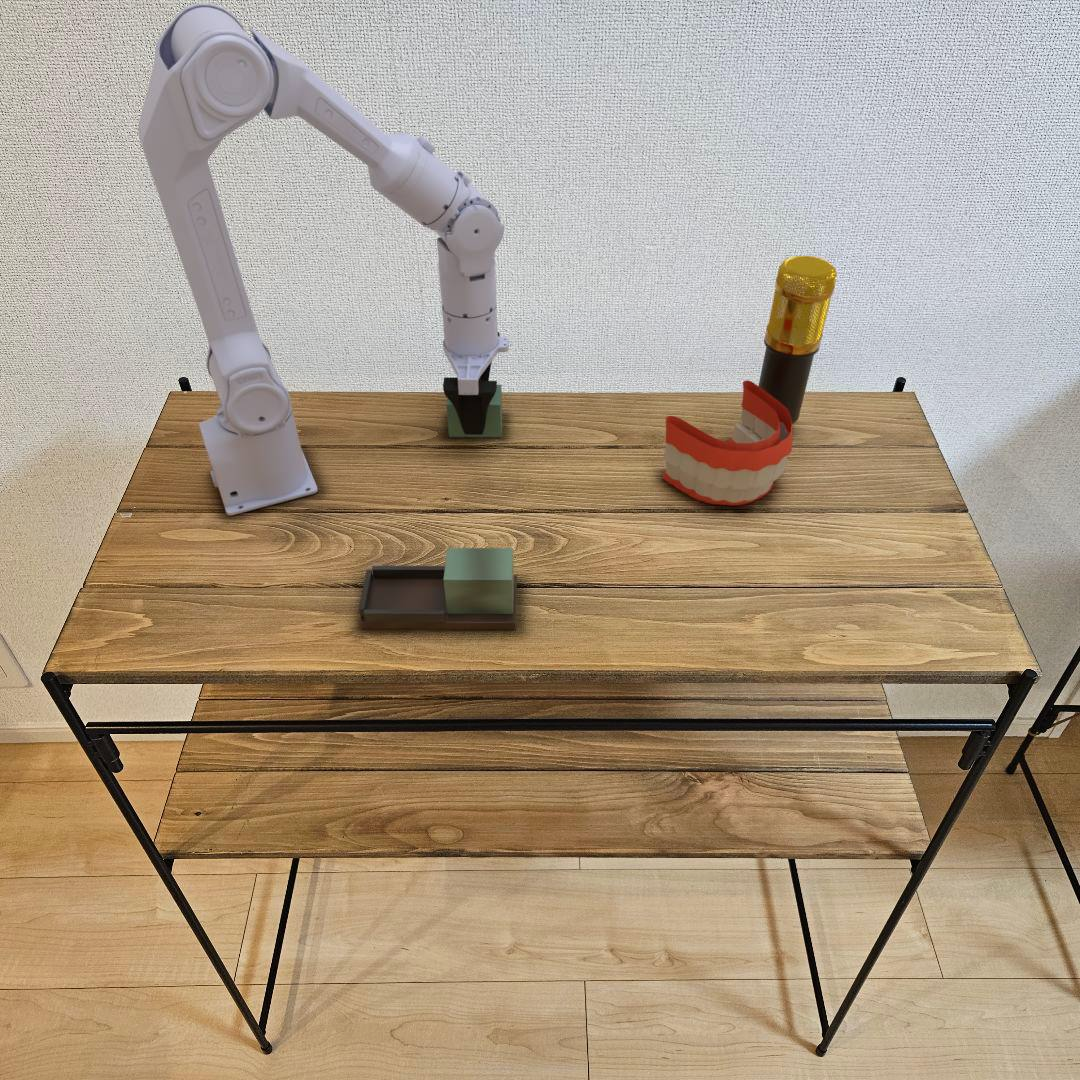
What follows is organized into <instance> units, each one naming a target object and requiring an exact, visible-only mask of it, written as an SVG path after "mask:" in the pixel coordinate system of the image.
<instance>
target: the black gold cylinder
mask: <svg viewBox="0 0 1080 1080" xmlns="http://www.w3.org/2000/svg"><path fill="white" fill-rule="evenodd" d="M837 274H838V273H837V270H836V267H835V266H834V265H833V264H832V263H830V262H829V261H828V260H825V259H823V258H821V257H818V256H817V257H816V256H813V255H796V256H791V257H789V258H786V259H785V260H783V262H782V263H780V265H779V267H778V271H777V275H776V278H775V282H774V295H773V299H772V303H771V304H772V305H771V310H770V315H769V320H768V323H767V325H766V328H765V332H764V339H763V343H764V346H765V351H764V356H763V362H762V367H761V371H760V376H759V381H758V384H757V386H759V387H760V388H762V389H763V390H765V391H766V392H767V393H769V394H770V395H771V396H773V397H774V398H775V399H777V400H778V401H779V402H780V403H782V404H783V405H784V406H785V407H786V408H787V409H788V410H789V412H790V415H791V418H792V426H793V425H794V424H795V423H796V422H798V420H799V418H800V414H801V410H802V405H803V401H804V397H805V394H806V389H807V386H808V381H809V376H810V373H811V368H812V365H813V360H814V358H815V355H816V354H817V353H818V352H819V350H820V347H821V344H822V339H823V336H824V335H823V332H824V327H825V325H826V324H825V323H826V320H827V316H828V311H829V307H830V303H831V299H832V297H833V295H834V291H835V286H836V281H837Z"/></svg>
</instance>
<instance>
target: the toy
mask: <svg viewBox="0 0 1080 1080" xmlns="http://www.w3.org/2000/svg"><path fill="white" fill-rule="evenodd" d="M740 417H741V418H740V420H741V423H736V424H735V425H734V428H733V432H732V436H731V438H730V439H729V440H723V439H719V438H717V437H714V436H712V435H710V434H708V433H706V432H704V431H703V430H701V429H699V428H697V427H695V426H694V425H692V424H691V423H689V422H687V421H686V420H684V419H682V418H680V417H678V416H674V415H668V416H666V417H665V443H666V445H665V449H664V453H663V459H664V461H665V465H666V467H665V470H664V472H663V473H662V478H663V480H664V482H667V483H668V484H670V485H672V486H673V487H674V488H676V490H679V491H681V492H682V493H684V494H686V495H687V496H689V497H690V498H692V499H694V500H696V501H700V502H703V503H705V504H709V505H720V506H741V505H746V504H749V503H752V502H755V501H758V500H759V499H760V498H763V497H764V496H765V495H767V494H768V493H769V492H770V491H771V490H772V488H773V487H774V482H775V481H776V480H778V479H779V477H781V476H782V475H783V473H784V471H785V470H786V467H787V463H788V459H789V456H790V454H791V453H792V451H793V450H792V449H793V432H794V427H793V425H792V418H791V415H790V412H789V410H788V409H787V408H786V407H785V406H784V405H783V404H782V403H780V402H779V401H778V400H777V399H775V398H774V397H773V396H771V395H770V394H769V393H767V392H766V391H765V390H763V389H762V388H760V387H759V386H758V384H756V383H755V382H753V381H751V380H748V379H747V380H744V381H743V382H742V402H741V416H740ZM751 429H752V430H754V432H752V430H751Z"/></svg>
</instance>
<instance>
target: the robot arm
mask: <svg viewBox="0 0 1080 1080" xmlns="http://www.w3.org/2000/svg"><path fill="white" fill-rule="evenodd" d="M248 29H249V31H250V33H251V35H252V37H250V36H249V34H248V33H247V32H246V30H245V28H244V26H243V25H242V24H241V22H240V21H239V20H238V18H237V17H236V16H235V15H234V14H233V13H232V12H231V11H229V10H227V9H225V8H224V7H222V6H219V5H217V4H214V3H208V2H199V3H193V4H190V5H188V6H186V7H184V8H183V9H182V10H180V11H179V12H178V14H177V15H176V16H175V17H174V18H173V19H172V21H171V22H170V23H169V25H168V26H167V27H166V28H165V29H164V30H163V32H161V34H160V36H159V37H158V38H157V40H156V43H155V53H154V61H153V66H152V67H153V68H152V71H151V75H150V79H149V81H148V82H149V83H148V86H147V91H146V93H145V98H144V102H143V106H142V110H141V114H140V117H139V122H138V128H137V130H138V137H139V142H140V144H141V148H142V151H143V154H144V156H145V160H146V163H147V165H148V168H149V171H150V173H151V174H150V175H151V177H152V180H153V183H154V186H155V189H156V191H157V194H158V197H159V199H160V203H161V206H162V209H163V212H164V215H165V218H166V220H167V224H168V226H169V230H170V232H171V236H172V239H173V241H174V244H175V246H176V250H177V253H178V256H179V259H180V262H181V264H182V267H183V270H184V273H185V276H186V279H187V282H188V285H189V287H190V291H191V294H192V296H193V299H194V302H195V306H196V309H197V312H198V314H199V317H200V319H201V323H202V325H203V329H204V333H205V336H206V338H207V344H208V350H207V355H206V359H205V361H206V362H205V366H206V369H207V372H208V375H209V376H210V378H211V380H212V383H213V385H214V389H215V390H216V393H217V396H218V399H219V403H218V408H217V410H216V414H215V415H214V416H212V417H209V418H207V419H206V420H203V421H201V422H198V425H199V431H200V433H201V437H202V440H203V444H204V446H205V449H206V454H207V456H208V459H209V462H210V465H211V469H212V470H210V471H209V472H210V473H209V474H210V476H211V480H212V483H213V485H214V488H218V490H219V491H218V492H219V494H220V497H221V500H222V503H223V507H224V510H225V513H226V515H227V516H234V515H238V514H242V513H246V512H250V511H254V510H258V509H262V508H265V507H268V506H269V507H270V506H273V505H276V504H280V503H285V502H288V501H292V500H295V499H299V498H304V497H307V496H310V495H314V494H316V493H318V491H319V489H318V486H317V483H316V481H315V478H314V476H313V473H312V470H311V469H310V466H309V464H308V462H307V458H306V456H305V454H304V451H303V449H302V446H301V442H300V437H299V433H298V428H297V424H296V420H295V419H296V418H295V416H294V411H293V406H292V402H291V401H292V400H291V395H290V393H289V390H288V389H287V387H286V386H285V385H284V384H283V382H282V380H281V378H280V375H279V374H278V371H277V369H276V367H275V365H274V363H273V361H272V356H271V353H270V350H269V348H268V347H267V345H266V344H265V343H264V342H263V341H262V339H261V336H260V333H259V330H258V327H257V324H256V319H255V317H254V313H253V310H252V307H251V303H250V301H249V300H250V299H249V297H248V294H247V291H246V287H245V283H244V280H243V277H242V273H241V270H240V266H239V263H238V260H237V257H236V254H235V249H234V246H233V243H232V242H233V241H232V240H231V235H230V233H229V229H228V226H227V223H226V219H225V216H224V212H223V208H222V205H221V201H220V199H219V195H218V191H217V189H216V184H215V181H214V179H213V176H212V172H211V169H210V165H209V159H210V157H211V156H212V154H213V153H214V152H215V150H217V148H218V147H219V145H220V144H221V143H222V141H223V140H224V138H225V137H227V136H228V135H230V134H231V133H233V132H234V131H236V130H237V129H239V128H241V127H242V126H243V125H244V126H245V125H246V124H247V123H249V122H251V121H252V120H254V118H255V117H257V116H258V115H260V113H261V112H263V111H264V112H265V114H266V115H267V116H268V118H269V119H270V120H279V119H280V120H282V119H287V118H288V119H289V118H294V117H298V118H300V119H302V120H303V121H305V122H306V123H307V124H309V125H310V126H312V127H313V128H314V129H316V130H317V131H319V132H320V133H322V135H324V136H325V137H327V138H329V139H330V140H331V141H332V142H334V143H335V144H337V145H338V146H339V147H341V148H343V149H344V150H345V151H347V152H348V153H349V154H351V155H352V156H354V157H355V158H357V159H358V160H359V161H360V162H362V163H363V164H365V165H366V166H367V169H368V176H369V182H370V185H371V187H372V188H373V190H375V191H376V192H377V193H379V194H380V195H381V196H383V197H384V198H385V199H387V200H388V201H389V202H390V203H392V204H393V205H395V206H396V207H397V208H398V209H400V210H401V211H402V212H403V213H405V214H407V215H408V216H409V217H410V218H412V219H413V220H415V221H416V222H417V223H419V224H420V225H421V226H422V227H424V228H426V229H430V230H431V231H434V232H435V234H437V235H438V236H439V237H437V238H436V246H437V247H436V248H437V257H438V263H437V264H438V265H437V266H438V278H439V289H440V303H441V313H442V324H443V325H442V326H443V340H442V341H443V342H442V349H443V353H444V354H445V356H446V358H447V360H448V362H449V364H450V366H451V368H452V370H453V371H454V373H455V375H456V377H444V378H443V383H442V390H443V394H444V396H445V397H446V399H447V398H448V399H449V400H450V401H451V403H452V404H453V406H454V408H455V410H456V412H457V415H458V417H459V421H460V424H461V427H462V429H463V431H464V434H466V435H482V434H483V432H484V428H485V423H486V415H487V410H488V406H489V404H490V402H491V400H492V398H493V397H494V395H495V392H496V389H497V385H498V380H490V375H491V367H492V362H493V360H494V359H495V358H496V356H497V355H498V354H500V353H506V352H508V351H509V350H510V339H509V338H508V337H507V336H501V333H500V332H499V329H498V306H497V305H498V304H497V300H498V299H497V277H496V276H497V273H496V270H497V269H496V257H495V253H496V250H497V248H498V247H499V245H500V244H501V243H502V240H503V237H504V233H505V224H504V223H502V222H501V217H500V216H499V211H498V209H497V208H496V206H495V205H494V204H493V203H492V202H491V201H490V200H489V199H488V198H487V197H485V196H484V195H483V194H482V193H481V192H480V191H479V190H478V189H477V188H476V187H475V186H474V185H473V184H471V182H472V179H471V178H470V177H469V176H468V175H467V174H466V173H465V172H463V170H458V171H457V172H456V171H455V170H453V169H452V168H451V167H450V166H449V165H448V164H447V163H445V162H444V161H443V160H442V159H441V158H439V157H438V156H437V155H436V154H435V153H434V152H435V150H436V146H435V145H434V144H433V143H432V142H431V141H430V140H428V139H427V138H426V136H424V135H422V134H420V135H418V136H417V138H416V137H415V136H413V135H412V134H411V133H409V132H397V133H396V132H395V133H385V132H384V131H383V130H382V129H380V128H379V127H378V126H377V125H376V124H375V123H374V122H373V121H372V120H370V119H369V118H368V117H367V116H366V115H364V113H362V112H361V111H360V110H359V109H357V108H356V107H355V106H354V105H353V104H351V103H350V102H349V101H348V100H347V99H346V98H345V97H344V96H342V95H341V94H340V93H339V92H338V91H337V90H336V89H334V87H332V86H331V85H330V84H329V83H327V82H326V81H325V80H324V79H323V78H322V77H321V76H319V74H318V73H316V72H315V71H314V70H313V69H312V68H310V67H309V66H308V65H307V64H305V63H304V62H303V61H302V60H301V59H300V58H299V57H297V56H296V55H294V54H293V53H291V52H290V51H289V50H286V49H285V48H284V47H282V46H281V45H279V44H278V43H276V42H275V41H274V40H272V39H270V38H269V37H268V36H266V35H265V34H263V33H261V32H260V31H258V30H256V29H255V28H253V27H251V26H249V27H248Z"/></svg>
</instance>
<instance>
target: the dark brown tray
mask: <svg viewBox="0 0 1080 1080" xmlns="http://www.w3.org/2000/svg"><path fill="white" fill-rule="evenodd" d="M444 561H445V563H444V565H372V568H371V569H366V571H365V576H364V580H363V581H364V582H363V586H362V591H361V596H360V600H359V607H358V613H359V617H360V619H359V625H360V630H453V631H454V630H456V631H457V630H463V631H464V630H465V631H467V630H474V631H476V630H478V631H479V630H481V631H483V630H484V631H485V630H489V631H490V630H491V631H492V630H493V631H494V630H495V631H496V630H497V631H498V630H504V631H505V630H506V631H508V630H513V631H515V630H517V601H518V600H517V598H518V575H516V574H515V569H514V568H515V567H514V566H515V565H514V548H512V547H447V548H446V553H445V560H444Z"/></svg>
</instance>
